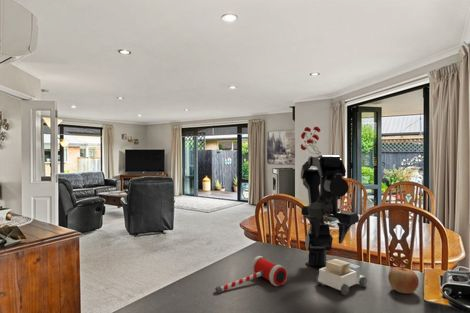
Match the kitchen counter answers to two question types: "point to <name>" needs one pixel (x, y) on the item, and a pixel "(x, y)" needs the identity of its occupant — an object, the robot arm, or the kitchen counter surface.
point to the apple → (403, 280)
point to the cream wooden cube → (337, 267)
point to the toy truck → (342, 279)
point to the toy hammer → (261, 274)
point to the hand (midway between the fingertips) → (328, 240)
